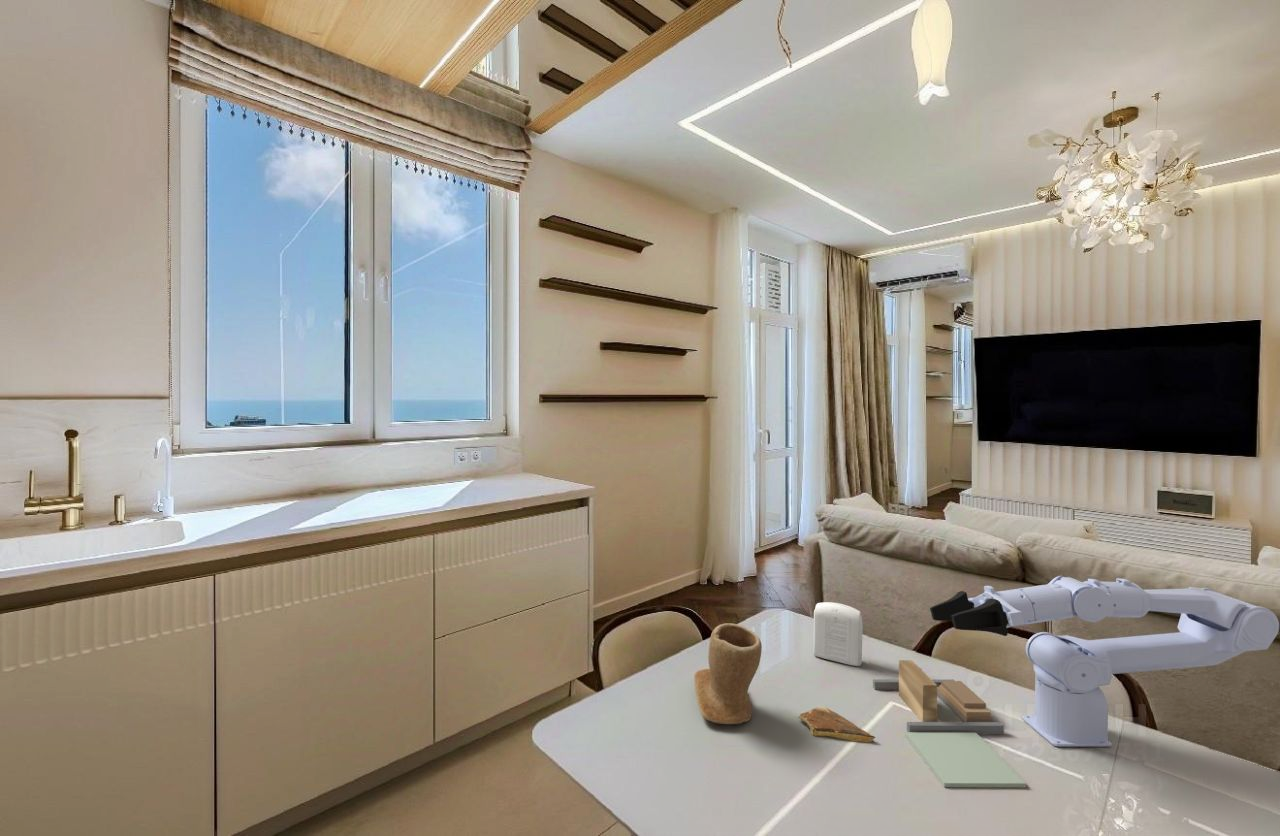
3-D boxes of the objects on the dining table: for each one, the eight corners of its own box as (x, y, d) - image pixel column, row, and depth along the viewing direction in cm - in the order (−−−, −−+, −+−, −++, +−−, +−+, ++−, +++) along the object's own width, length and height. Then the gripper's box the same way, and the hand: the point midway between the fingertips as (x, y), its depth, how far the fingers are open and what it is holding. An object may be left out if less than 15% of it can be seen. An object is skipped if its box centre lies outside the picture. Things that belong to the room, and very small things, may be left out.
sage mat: (976, 735, 90) (976, 732, 90) (1026, 787, 78) (1026, 783, 78) (905, 735, 91) (905, 732, 91) (944, 787, 79) (944, 783, 79)
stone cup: (767, 731, 92) (767, 646, 92) (698, 729, 93) (698, 645, 92) (752, 684, 107) (752, 611, 107) (693, 683, 108) (693, 611, 107)
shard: (875, 745, 89) (875, 735, 89) (844, 761, 85) (844, 750, 85) (824, 713, 98) (824, 703, 98) (794, 725, 95) (794, 715, 95)
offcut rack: (953, 686, 106) (953, 672, 106) (1003, 734, 91) (1004, 717, 91) (872, 686, 106) (872, 672, 106) (909, 733, 91) (909, 716, 91)
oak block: (911, 695, 103) (912, 660, 103) (936, 724, 94) (937, 685, 94) (898, 695, 103) (899, 660, 103) (922, 724, 94) (923, 685, 94)
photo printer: (863, 660, 117) (863, 605, 116) (860, 669, 113) (860, 611, 113) (815, 649, 122) (815, 596, 122) (811, 657, 118) (811, 602, 118)
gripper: (991, 577, 99) (918, 588, 99) (1044, 587, 84) (957, 600, 85) (1002, 616, 97) (927, 627, 98) (1057, 634, 83) (969, 646, 84)
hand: (942, 617), depth 91 cm, fingers open, 7 cm apart
